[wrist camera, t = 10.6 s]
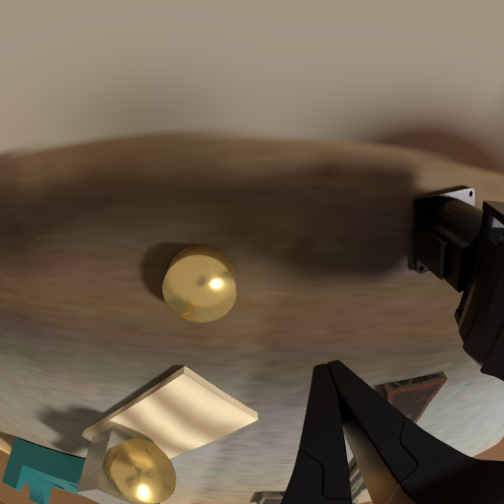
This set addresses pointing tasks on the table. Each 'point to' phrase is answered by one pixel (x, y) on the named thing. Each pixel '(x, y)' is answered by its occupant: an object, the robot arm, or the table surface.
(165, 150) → the table surface
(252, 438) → the table surface
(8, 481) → the teal saddle bracket
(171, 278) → the spacer
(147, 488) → the shaft
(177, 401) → the board
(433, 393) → the cross
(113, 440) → the bearing block
